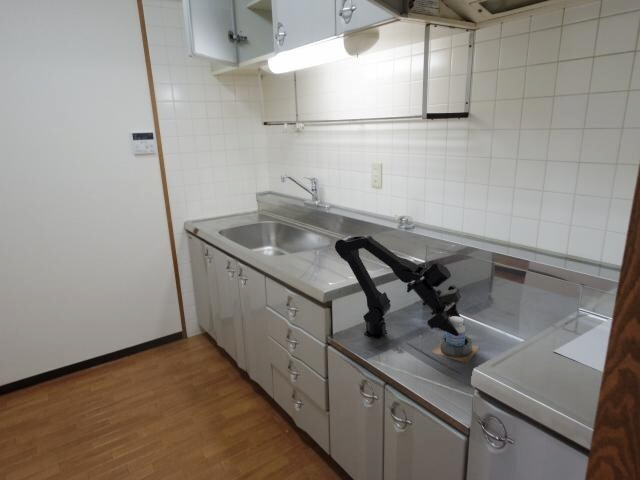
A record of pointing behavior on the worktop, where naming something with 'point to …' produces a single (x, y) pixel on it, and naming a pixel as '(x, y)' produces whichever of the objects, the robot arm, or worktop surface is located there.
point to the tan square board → (464, 359)
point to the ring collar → (456, 348)
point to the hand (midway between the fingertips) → (460, 330)
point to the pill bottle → (460, 328)
